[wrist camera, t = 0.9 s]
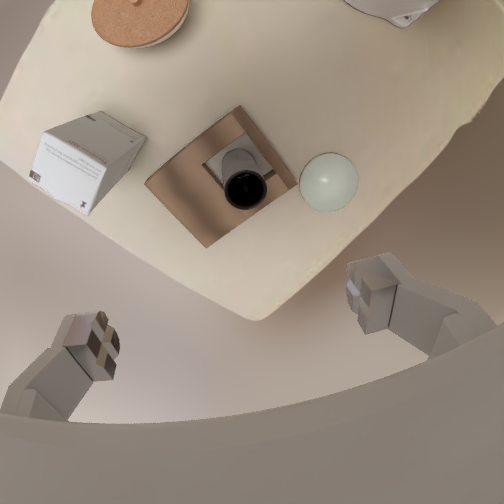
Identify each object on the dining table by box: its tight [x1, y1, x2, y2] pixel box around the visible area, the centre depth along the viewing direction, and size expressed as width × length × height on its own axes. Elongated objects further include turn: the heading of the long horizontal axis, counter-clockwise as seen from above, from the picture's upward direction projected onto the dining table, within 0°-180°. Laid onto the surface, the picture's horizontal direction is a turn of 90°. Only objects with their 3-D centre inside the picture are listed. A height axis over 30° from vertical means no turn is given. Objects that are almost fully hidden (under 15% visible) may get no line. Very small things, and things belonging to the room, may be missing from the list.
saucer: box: [299, 153, 358, 212], centre depth 42 cm, size 9×9×1 cm
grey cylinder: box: [222, 149, 267, 210], centre depth 35 cm, size 4×4×10 cm
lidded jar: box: [91, 0, 189, 48], centre depth 23 cm, size 11×11×9 cm
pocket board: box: [144, 106, 298, 248], centre depth 39 cm, size 16×13×2 cm
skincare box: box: [28, 111, 146, 216], centre depth 29 cm, size 8×6×15 cm
